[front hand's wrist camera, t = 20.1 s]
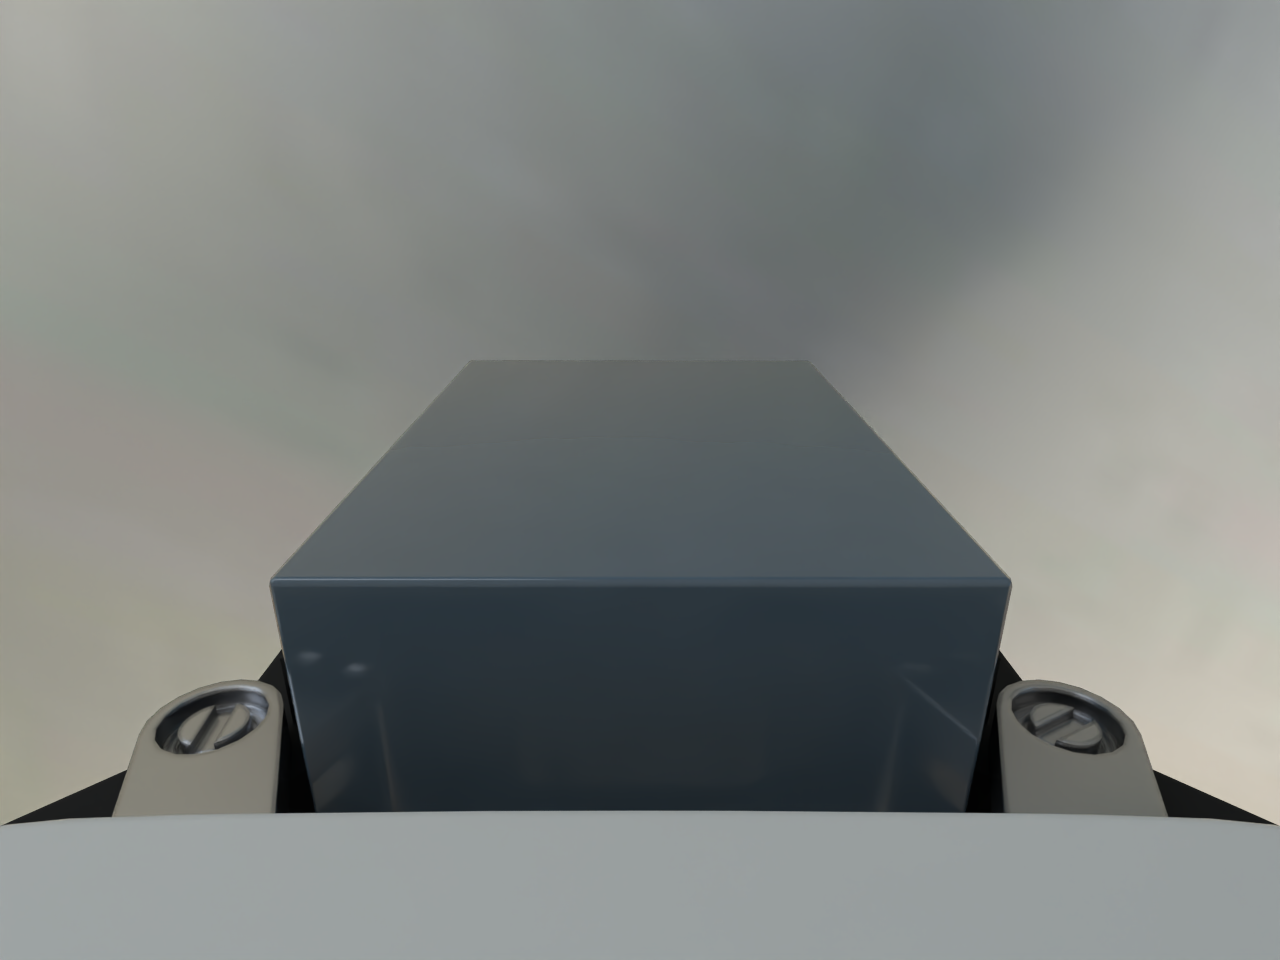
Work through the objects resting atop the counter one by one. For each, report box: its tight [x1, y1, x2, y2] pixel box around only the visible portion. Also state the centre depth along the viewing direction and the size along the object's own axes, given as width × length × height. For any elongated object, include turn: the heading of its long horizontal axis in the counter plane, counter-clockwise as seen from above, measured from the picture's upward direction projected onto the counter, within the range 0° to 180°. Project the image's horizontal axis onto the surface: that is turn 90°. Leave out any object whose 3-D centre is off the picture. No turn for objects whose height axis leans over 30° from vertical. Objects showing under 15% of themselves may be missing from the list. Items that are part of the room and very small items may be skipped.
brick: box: [269, 360, 1012, 813], centre depth 11 cm, size 6×6×8 cm
